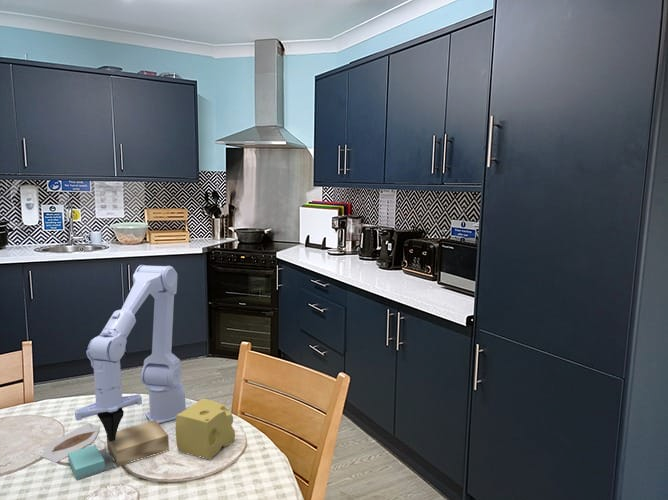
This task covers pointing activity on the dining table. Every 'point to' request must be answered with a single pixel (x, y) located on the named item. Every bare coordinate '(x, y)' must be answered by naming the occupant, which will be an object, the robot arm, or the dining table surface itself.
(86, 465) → the turquoise rectangular block
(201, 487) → the dining table surface
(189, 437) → the cheese
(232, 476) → the dining table surface
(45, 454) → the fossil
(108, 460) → the mat
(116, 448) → the block
